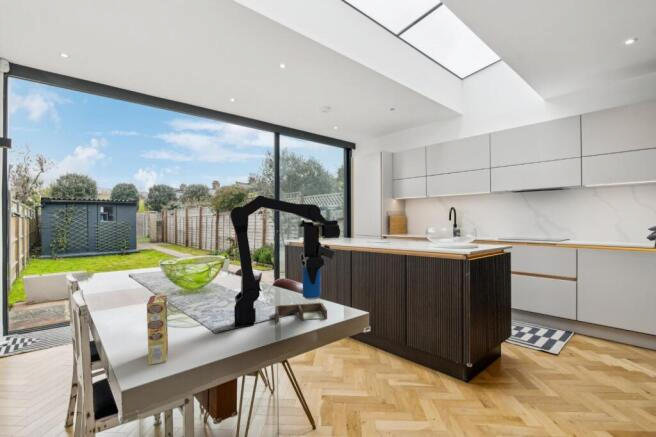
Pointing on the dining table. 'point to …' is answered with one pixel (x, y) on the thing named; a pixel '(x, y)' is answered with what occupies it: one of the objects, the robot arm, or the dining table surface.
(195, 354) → the dining table surface
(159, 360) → the candy box
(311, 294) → the beverage can
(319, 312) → the slot rack
